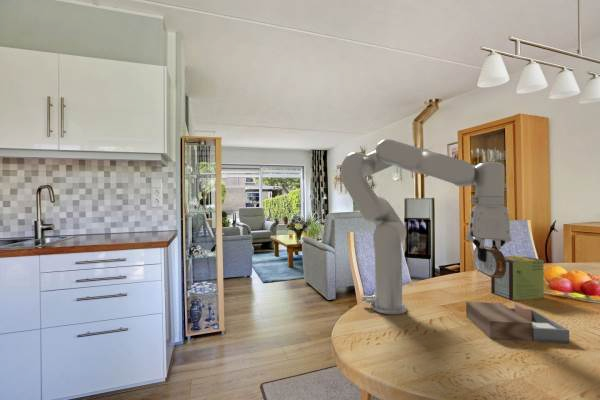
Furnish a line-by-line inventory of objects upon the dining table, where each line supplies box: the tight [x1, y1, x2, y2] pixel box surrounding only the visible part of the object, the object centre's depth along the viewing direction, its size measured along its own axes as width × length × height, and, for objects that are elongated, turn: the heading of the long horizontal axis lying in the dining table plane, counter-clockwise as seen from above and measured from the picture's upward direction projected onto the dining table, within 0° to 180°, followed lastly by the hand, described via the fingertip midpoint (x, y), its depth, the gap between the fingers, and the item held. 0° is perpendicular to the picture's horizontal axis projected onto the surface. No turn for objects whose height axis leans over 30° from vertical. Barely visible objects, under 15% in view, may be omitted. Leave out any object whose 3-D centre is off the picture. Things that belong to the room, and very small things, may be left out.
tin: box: [473, 245, 506, 278], centre depth 91 cm, size 15×3×8 cm, turn 173°
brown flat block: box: [465, 301, 533, 342], centre depth 91 cm, size 11×16×5 cm
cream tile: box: [531, 322, 557, 329], centre depth 86 cm, size 5×5×2 cm
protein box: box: [490, 255, 545, 302], centre depth 121 cm, size 10×15×16 cm
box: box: [508, 307, 570, 344], centre depth 89 cm, size 9×16×4 cm, turn 172°
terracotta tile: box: [514, 303, 532, 322], centre depth 93 cm, size 5×5×2 cm
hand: (487, 260), depth 91 cm, fingers closed on tin, 2 cm apart
